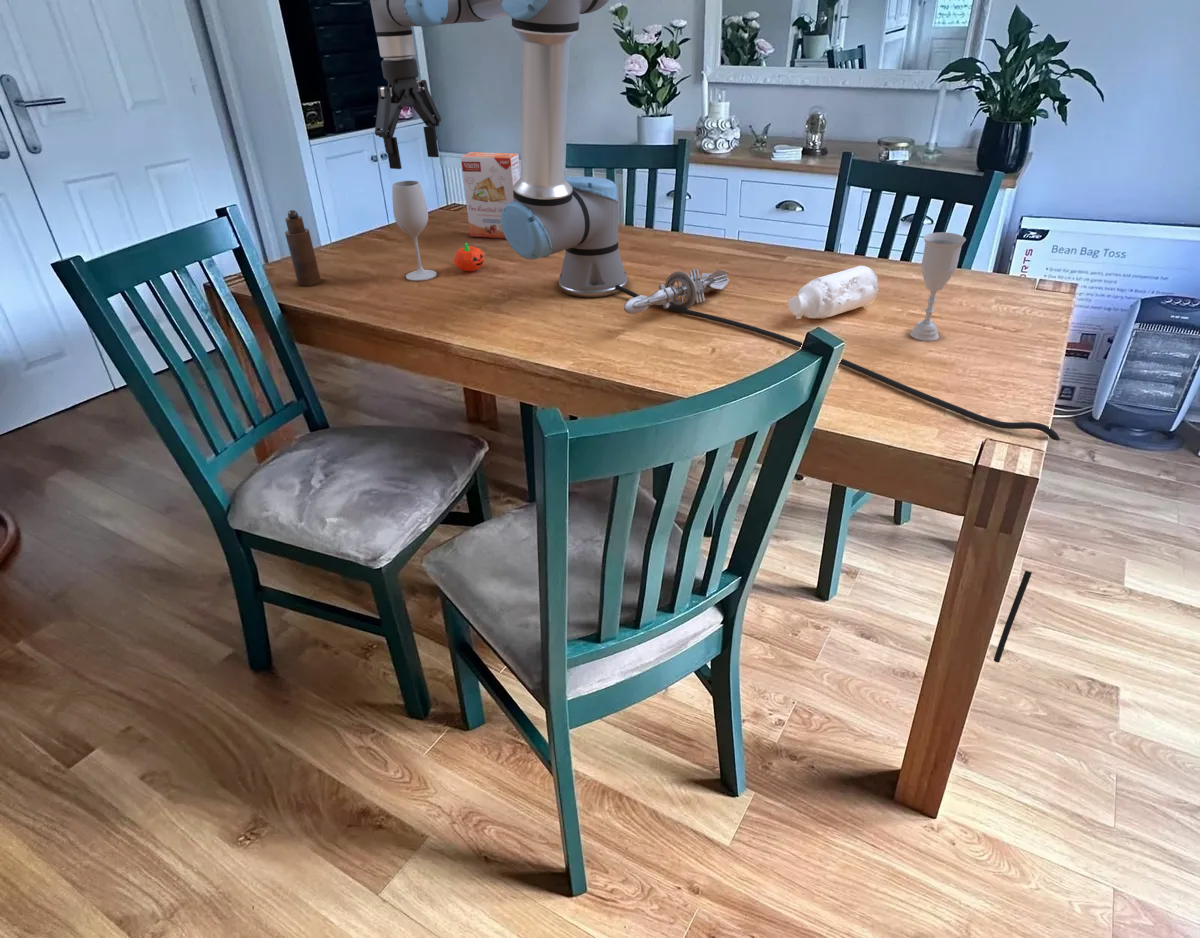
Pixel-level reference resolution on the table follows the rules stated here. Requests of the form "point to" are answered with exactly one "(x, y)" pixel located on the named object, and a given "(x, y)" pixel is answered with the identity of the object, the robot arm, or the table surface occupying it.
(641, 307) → the spaceship
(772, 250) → the table surface
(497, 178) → the cracker box
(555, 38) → the robot arm
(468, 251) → the pumpkin
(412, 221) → the wineglass
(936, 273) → the chalice
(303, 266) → the pepper mill
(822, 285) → the white bottle
